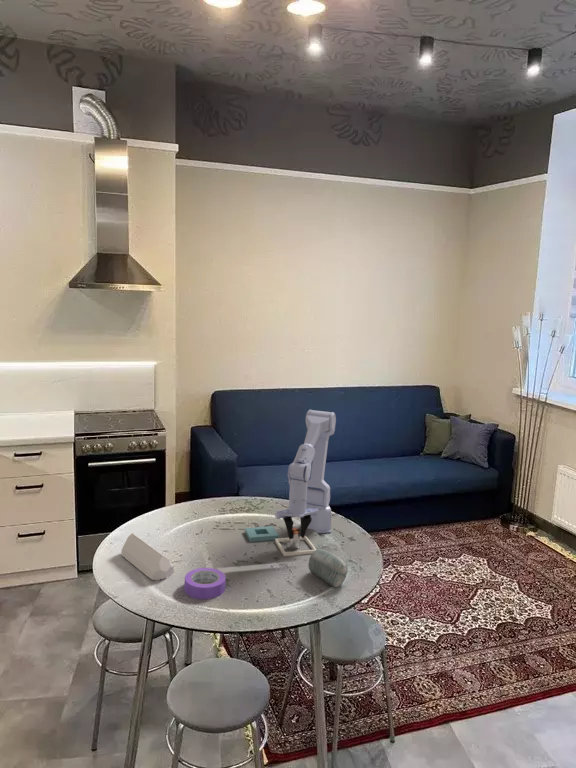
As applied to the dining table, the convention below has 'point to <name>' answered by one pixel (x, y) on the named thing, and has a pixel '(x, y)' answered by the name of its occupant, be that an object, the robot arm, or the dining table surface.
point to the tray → (295, 551)
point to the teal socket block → (261, 533)
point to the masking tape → (204, 590)
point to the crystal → (146, 558)
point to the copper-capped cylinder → (295, 538)
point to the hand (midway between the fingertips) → (296, 537)
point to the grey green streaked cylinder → (328, 567)
